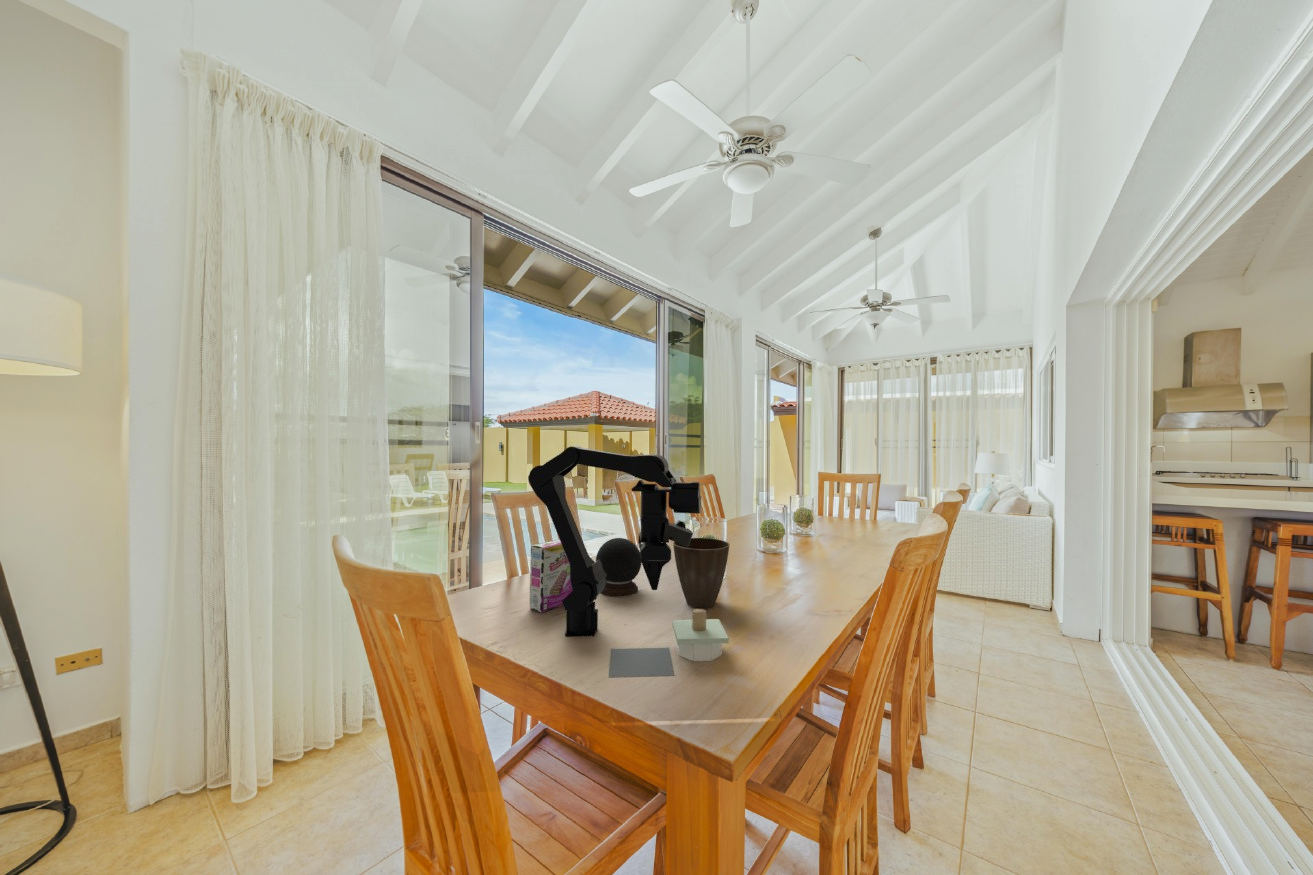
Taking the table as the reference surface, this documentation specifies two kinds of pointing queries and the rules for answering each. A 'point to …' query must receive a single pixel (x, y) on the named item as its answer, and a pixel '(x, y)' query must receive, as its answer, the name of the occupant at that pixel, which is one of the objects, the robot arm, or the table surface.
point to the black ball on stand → (619, 567)
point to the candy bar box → (548, 576)
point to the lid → (699, 630)
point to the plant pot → (701, 569)
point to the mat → (640, 662)
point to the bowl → (700, 651)
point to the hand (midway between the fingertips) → (653, 583)
